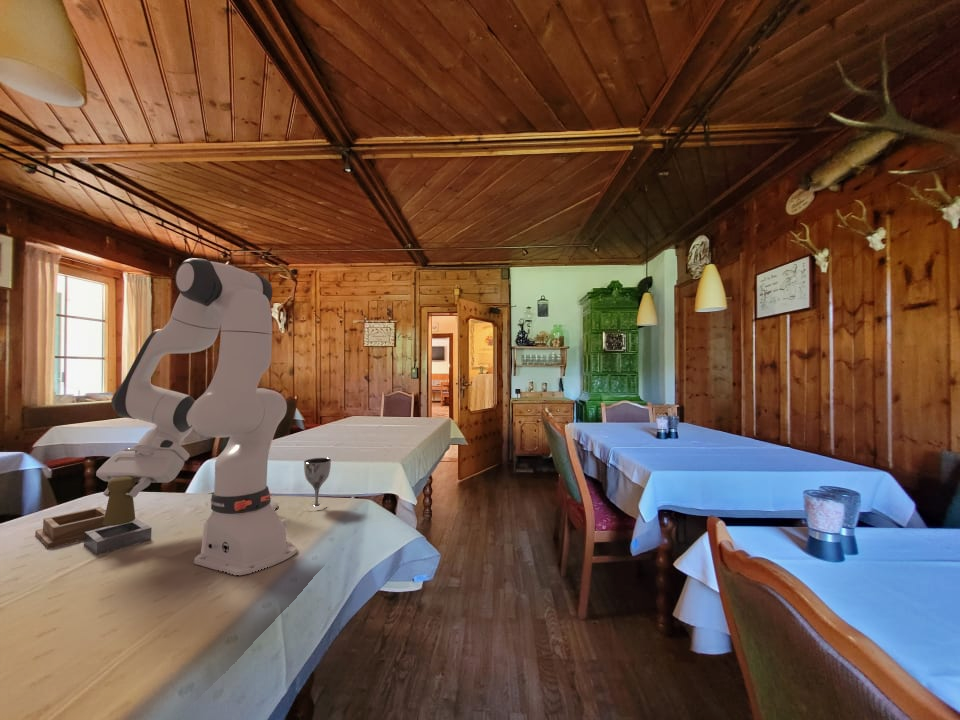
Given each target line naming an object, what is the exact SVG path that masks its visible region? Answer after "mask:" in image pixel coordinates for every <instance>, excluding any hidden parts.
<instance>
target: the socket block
mask: <svg viewBox="0 0 960 720" xmlns="http://www.w3.org/2000/svg"><path fill="white" fill-rule="evenodd" d="M150 540H152V526H150V525H148V524H146V523H145V522H143V521H141V520H139V519H136V518H135V520H133V521H131V522H129V523H126V524H121V525H115V526H107V527H103V528H99V529H95V530H91V531H87V532H84V539H83V545H84V546H85V547H86V548H87V549H89V550H90V551H91V552H93V554H95V555H96V556H99V555H101V554H104V553H108V551H109V552H111V551H115V550H119V549H122V548H127V547H129V546H132V545H136V544H139V543H144V542H148V541H150Z"/></svg>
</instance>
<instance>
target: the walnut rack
mask: <svg viewBox="0 0 960 720" xmlns="http://www.w3.org/2000/svg"><path fill="white" fill-rule="evenodd" d="M105 512H106V509H105V508H103V507H101V506H98V507H94V508H93V507H92V508H89V509H88V508H87V509H84V510H83V509H82V510H79V511H74V512H69V513H65V514H59V515H55V516H51V517H45V518H43V522H42V528H40V529H35V533H34V534H35V535H34V536H36V538H38V540H39V541H40V542H41V541H42V542H43V543H44V544H43V543H42V542H41V543H42V544H43V545H44V546H45V547H46V548H47V549H51V548H56V547H59V545H60V546H64V545H67V544H66V543H68V544H72V543H74V542H75V543H76V542H78V541H84V532H87V531H91V530H95V529H99V528H103V527H107V526H105V525H103V521H104V517H105ZM71 542H72V543H71ZM63 544H64V545H63Z"/></svg>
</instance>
